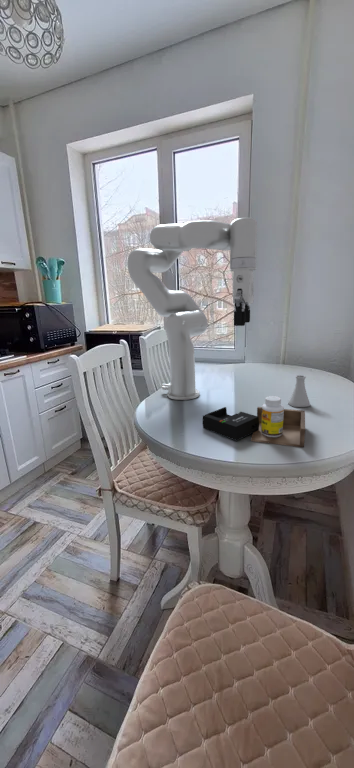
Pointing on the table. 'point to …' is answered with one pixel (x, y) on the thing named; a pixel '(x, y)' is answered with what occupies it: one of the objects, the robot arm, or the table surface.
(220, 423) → the battery charger
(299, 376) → the flask
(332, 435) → the table surface
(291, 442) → the corner arena
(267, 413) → the supplement bottle
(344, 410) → the table surface
